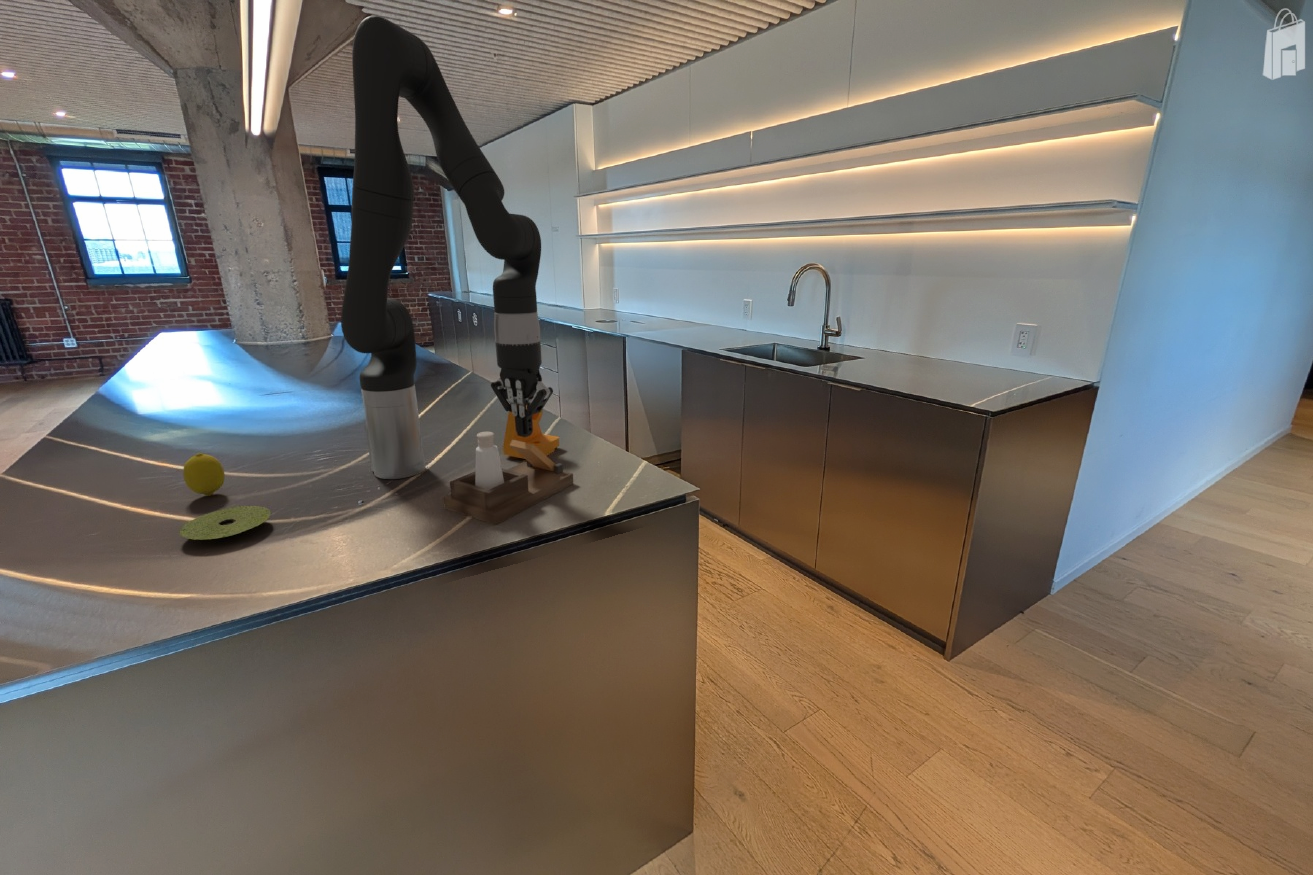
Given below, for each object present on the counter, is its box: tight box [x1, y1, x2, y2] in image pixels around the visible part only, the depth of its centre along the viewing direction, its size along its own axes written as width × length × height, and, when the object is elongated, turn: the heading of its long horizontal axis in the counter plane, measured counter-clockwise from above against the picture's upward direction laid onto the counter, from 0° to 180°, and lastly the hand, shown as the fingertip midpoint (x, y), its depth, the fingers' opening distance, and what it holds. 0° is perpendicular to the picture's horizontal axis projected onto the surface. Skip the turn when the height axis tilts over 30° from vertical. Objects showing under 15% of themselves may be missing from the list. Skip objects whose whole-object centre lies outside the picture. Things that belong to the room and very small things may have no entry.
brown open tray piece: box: [442, 460, 574, 526], centre depth 100 cm, size 12×20×5 cm, turn 150°
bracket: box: [502, 405, 560, 460], centre depth 120 cm, size 11×7×12 cm, turn 155°
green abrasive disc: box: [179, 505, 272, 541], centre depth 86 cm, size 11×11×2 cm
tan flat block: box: [510, 440, 557, 471], centre depth 104 cm, size 5×9×1 cm
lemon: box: [182, 452, 225, 497], centre depth 98 cm, size 6×6×8 cm
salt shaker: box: [475, 431, 504, 490], centre depth 94 cm, size 5×5×11 cm
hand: (524, 435), depth 101 cm, fingers closed
